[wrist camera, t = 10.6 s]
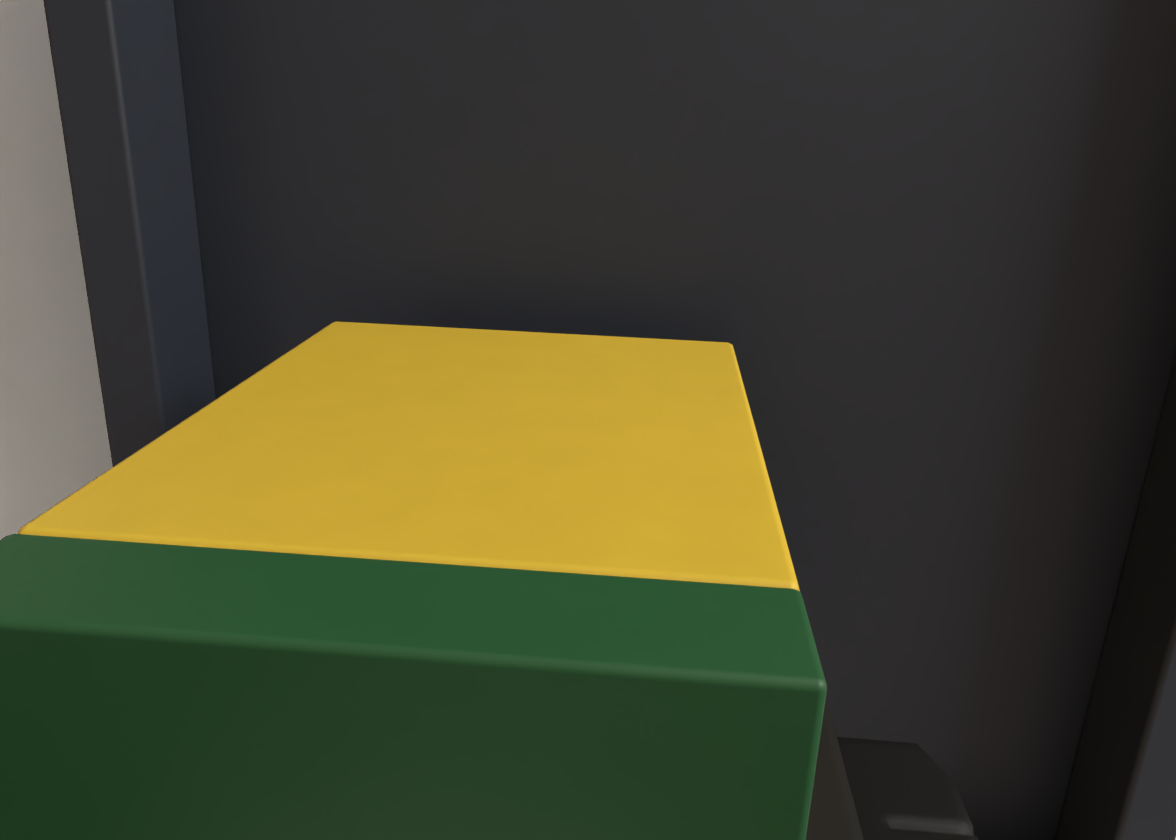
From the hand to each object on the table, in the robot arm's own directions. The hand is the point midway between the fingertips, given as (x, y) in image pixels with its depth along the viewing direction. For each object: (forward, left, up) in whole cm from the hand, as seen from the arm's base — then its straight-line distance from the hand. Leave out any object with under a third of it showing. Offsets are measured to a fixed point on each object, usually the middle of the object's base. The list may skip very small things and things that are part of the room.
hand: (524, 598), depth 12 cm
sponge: (0, 0, 0) cm, 0 cm away
